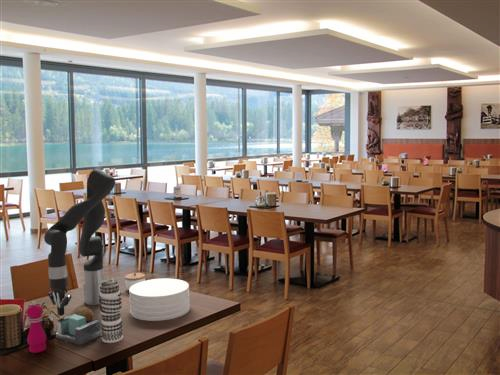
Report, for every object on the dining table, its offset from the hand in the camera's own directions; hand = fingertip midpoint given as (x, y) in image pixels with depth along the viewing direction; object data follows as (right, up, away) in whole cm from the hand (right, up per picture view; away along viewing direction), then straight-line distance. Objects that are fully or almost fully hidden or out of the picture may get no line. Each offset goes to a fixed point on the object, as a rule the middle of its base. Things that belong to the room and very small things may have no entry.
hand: (61, 315), depth 237 cm
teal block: (+9, -7, -5) cm, 12 cm away
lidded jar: (+20, 0, +58) cm, 61 cm away
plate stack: (+39, -4, +26) cm, 46 cm away
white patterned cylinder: (+24, -8, -8) cm, 27 cm away
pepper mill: (-3, -10, -17) cm, 20 cm away
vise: (+9, -8, -5) cm, 13 cm away
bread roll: (+4, -6, +15) cm, 17 cm away
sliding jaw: (+4, -6, -2) cm, 7 cm away
